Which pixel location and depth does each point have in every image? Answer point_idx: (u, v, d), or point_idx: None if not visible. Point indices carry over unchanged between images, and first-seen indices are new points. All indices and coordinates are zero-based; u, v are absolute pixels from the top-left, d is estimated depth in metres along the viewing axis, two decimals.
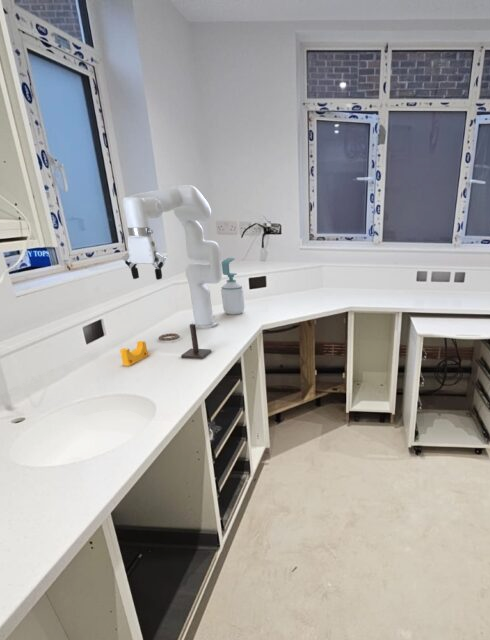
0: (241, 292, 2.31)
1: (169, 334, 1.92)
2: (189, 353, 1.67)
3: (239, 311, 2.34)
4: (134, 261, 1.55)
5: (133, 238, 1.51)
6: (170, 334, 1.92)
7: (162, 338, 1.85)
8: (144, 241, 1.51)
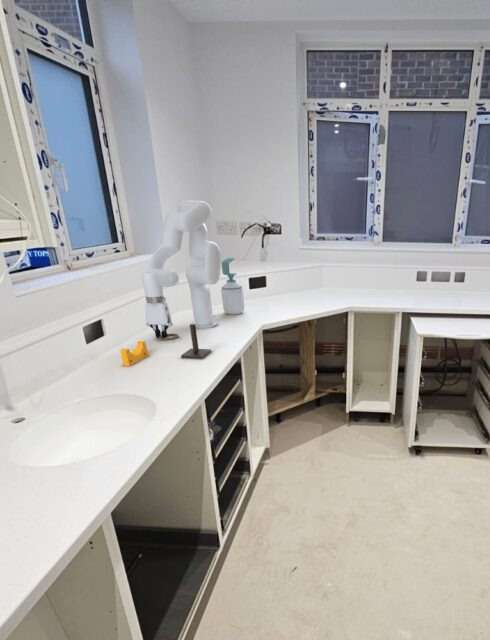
0: (241, 292, 2.31)
1: (169, 334, 1.92)
2: (189, 353, 1.67)
3: (239, 311, 2.34)
4: (150, 322, 1.85)
5: (150, 305, 1.81)
6: (170, 334, 1.92)
7: (162, 338, 1.85)
8: (159, 307, 1.81)
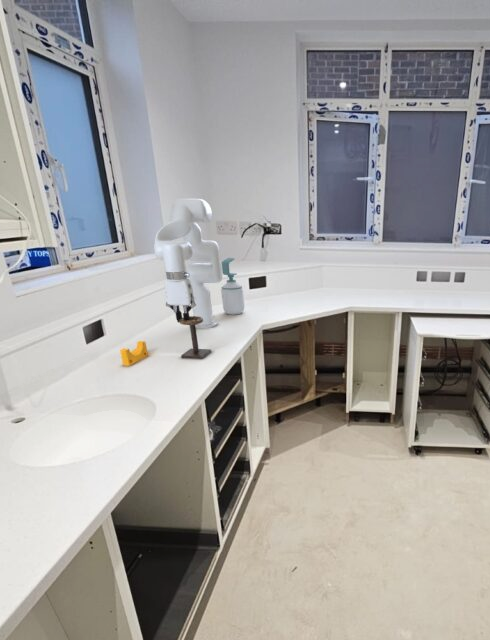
0: (241, 292, 2.31)
1: (191, 317, 1.66)
2: (189, 353, 1.67)
3: (239, 311, 2.34)
4: (171, 303, 1.60)
5: (171, 281, 1.56)
6: (192, 317, 1.66)
7: (184, 321, 1.60)
8: (181, 285, 1.56)
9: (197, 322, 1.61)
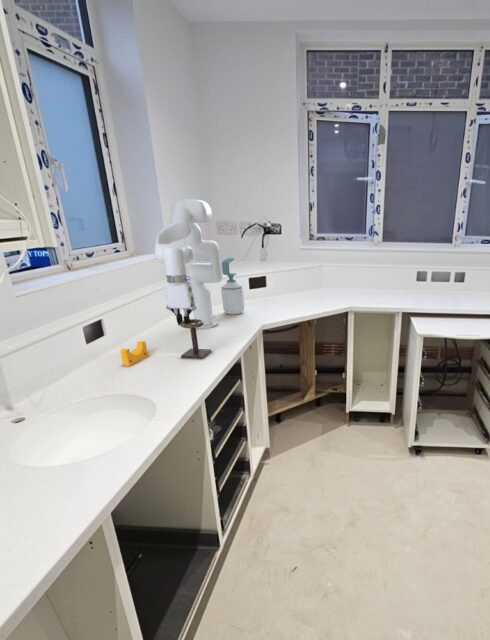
0: (241, 292, 2.31)
1: (191, 320, 1.67)
2: (189, 353, 1.67)
3: (239, 311, 2.34)
4: (171, 306, 1.60)
5: (171, 285, 1.56)
6: (193, 320, 1.67)
7: (184, 324, 1.61)
8: (181, 288, 1.57)
9: (197, 325, 1.62)
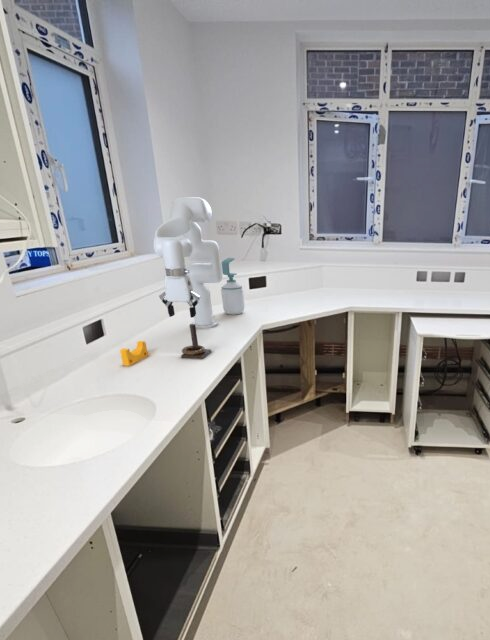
0: (241, 292, 2.31)
1: None
2: None
3: (239, 311, 2.34)
4: (170, 299, 1.59)
5: (170, 278, 1.55)
6: None
7: (186, 351, 1.65)
8: (180, 281, 1.56)
9: (199, 352, 1.66)
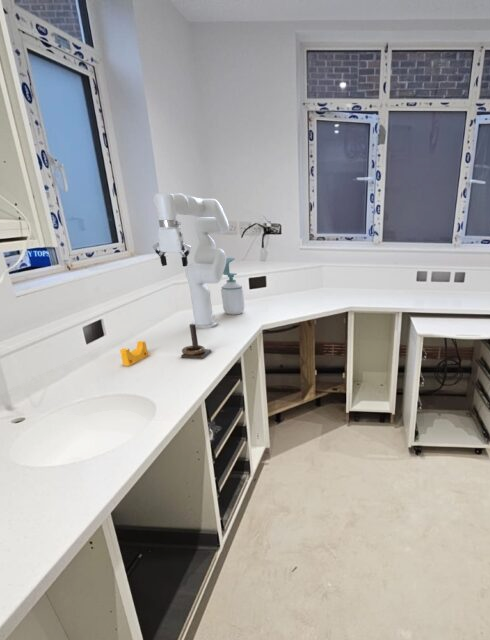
0: (241, 292, 2.31)
1: None
2: None
3: (239, 311, 2.34)
4: (163, 250, 1.75)
5: (163, 229, 1.71)
6: None
7: (186, 351, 1.65)
8: (172, 232, 1.71)
9: (199, 352, 1.66)
